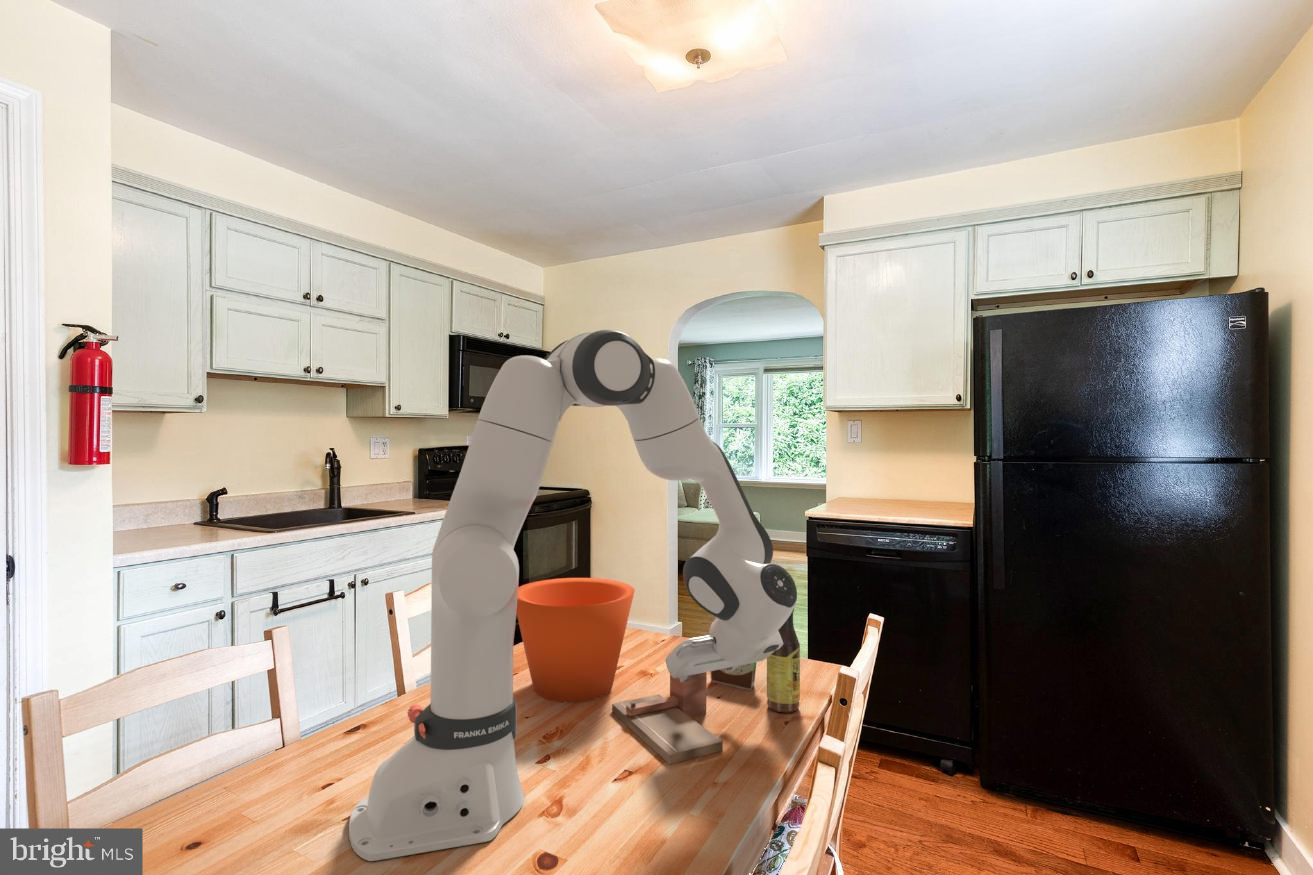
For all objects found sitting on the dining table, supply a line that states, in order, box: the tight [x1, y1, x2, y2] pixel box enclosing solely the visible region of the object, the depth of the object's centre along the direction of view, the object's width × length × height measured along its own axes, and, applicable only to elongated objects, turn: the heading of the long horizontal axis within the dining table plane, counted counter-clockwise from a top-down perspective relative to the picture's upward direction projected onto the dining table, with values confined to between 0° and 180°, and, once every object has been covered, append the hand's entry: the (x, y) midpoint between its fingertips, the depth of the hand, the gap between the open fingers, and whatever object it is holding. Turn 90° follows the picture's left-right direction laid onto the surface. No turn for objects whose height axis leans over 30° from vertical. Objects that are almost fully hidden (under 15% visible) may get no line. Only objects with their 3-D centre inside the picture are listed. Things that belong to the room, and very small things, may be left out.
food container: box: [706, 632, 758, 691], centre depth 136 cm, size 12×6×10 cm, turn 58°
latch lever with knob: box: [626, 672, 708, 718], centre depth 119 cm, size 15×5×9 cm, turn 118°
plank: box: [611, 694, 724, 765], centre depth 113 cm, size 10×22×2 cm, turn 28°
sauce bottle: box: [766, 608, 801, 714], centre depth 123 cm, size 6×6×20 cm
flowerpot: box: [516, 577, 635, 704], centre depth 133 cm, size 25×25×20 cm
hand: (704, 673), depth 118 cm, fingers open, 8 cm apart
